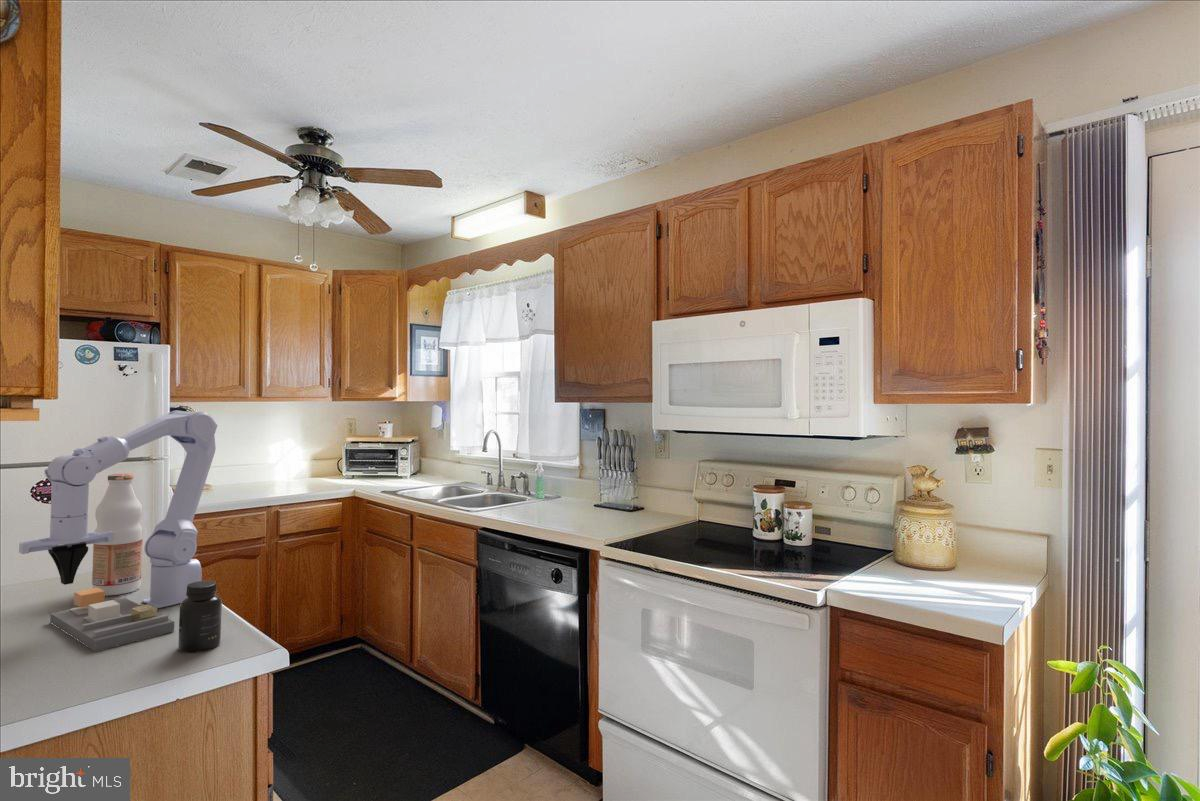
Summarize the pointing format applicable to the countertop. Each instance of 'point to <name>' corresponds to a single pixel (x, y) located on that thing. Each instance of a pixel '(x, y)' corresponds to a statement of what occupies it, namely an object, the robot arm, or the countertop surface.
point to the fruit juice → (118, 538)
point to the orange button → (89, 597)
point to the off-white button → (104, 610)
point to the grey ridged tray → (110, 626)
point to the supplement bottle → (200, 618)
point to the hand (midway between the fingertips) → (67, 583)
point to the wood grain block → (143, 612)
